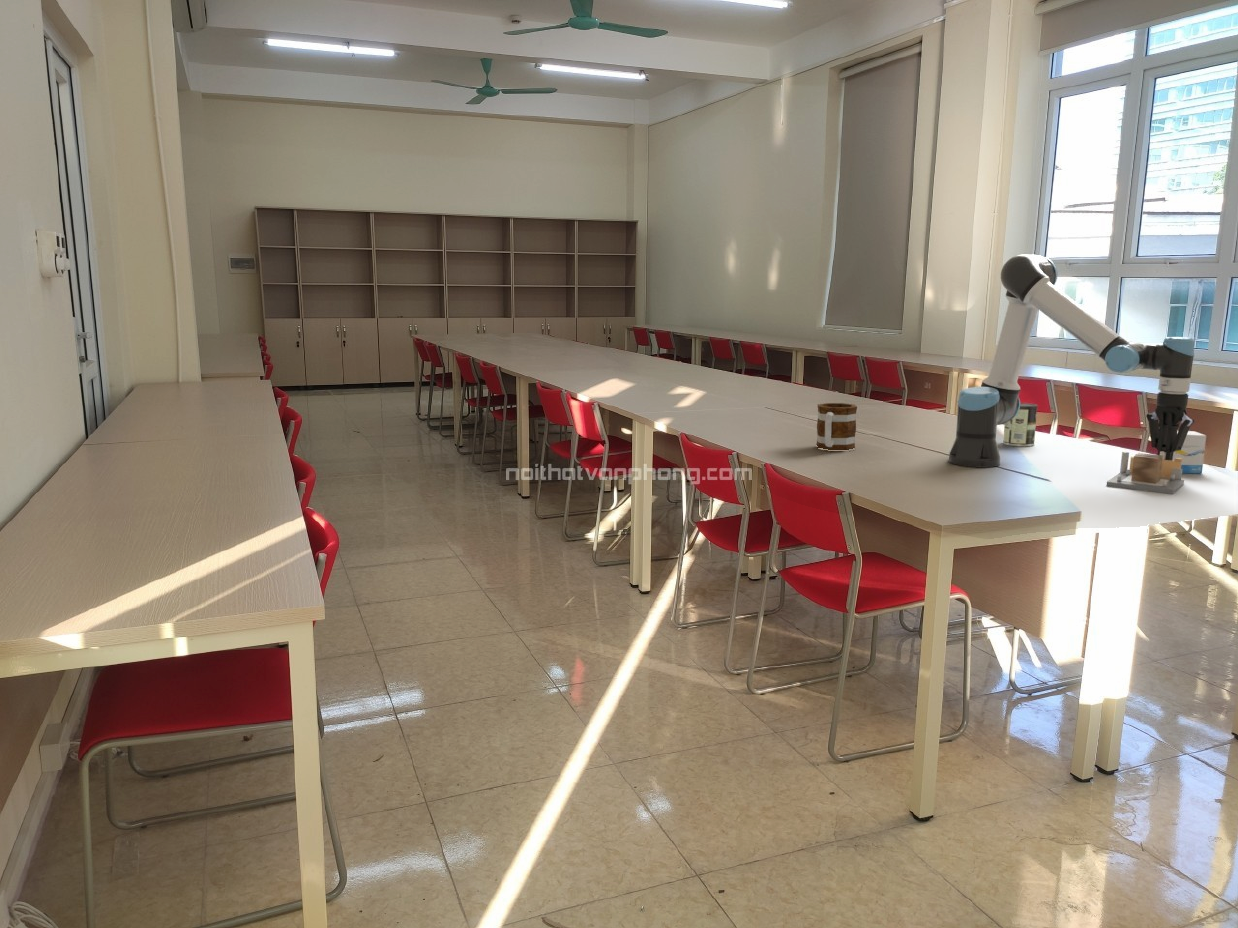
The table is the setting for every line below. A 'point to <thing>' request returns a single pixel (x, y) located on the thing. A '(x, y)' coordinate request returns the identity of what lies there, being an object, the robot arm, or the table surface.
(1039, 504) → the table surface
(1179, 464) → the lid gate
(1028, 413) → the coffee can
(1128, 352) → the robot arm
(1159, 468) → the walnut block
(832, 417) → the mug
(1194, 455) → the ink box
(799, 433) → the table surface
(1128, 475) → the housing
